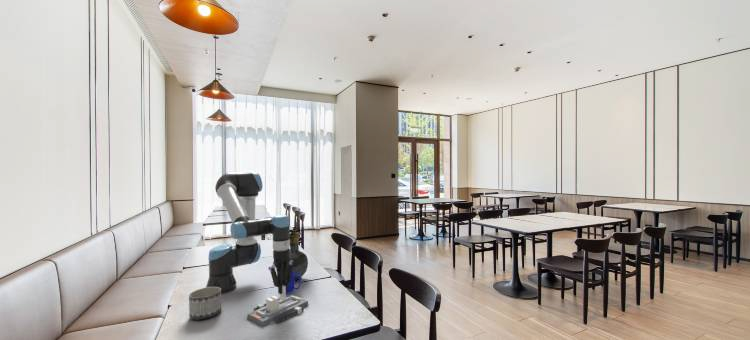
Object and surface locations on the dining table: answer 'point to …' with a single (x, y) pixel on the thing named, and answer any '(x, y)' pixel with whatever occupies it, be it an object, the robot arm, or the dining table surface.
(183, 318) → the dining table surface
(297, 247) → the pitcher
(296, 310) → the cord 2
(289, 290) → the mug
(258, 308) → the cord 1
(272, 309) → the toggle
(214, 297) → the planter
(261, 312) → the panel
